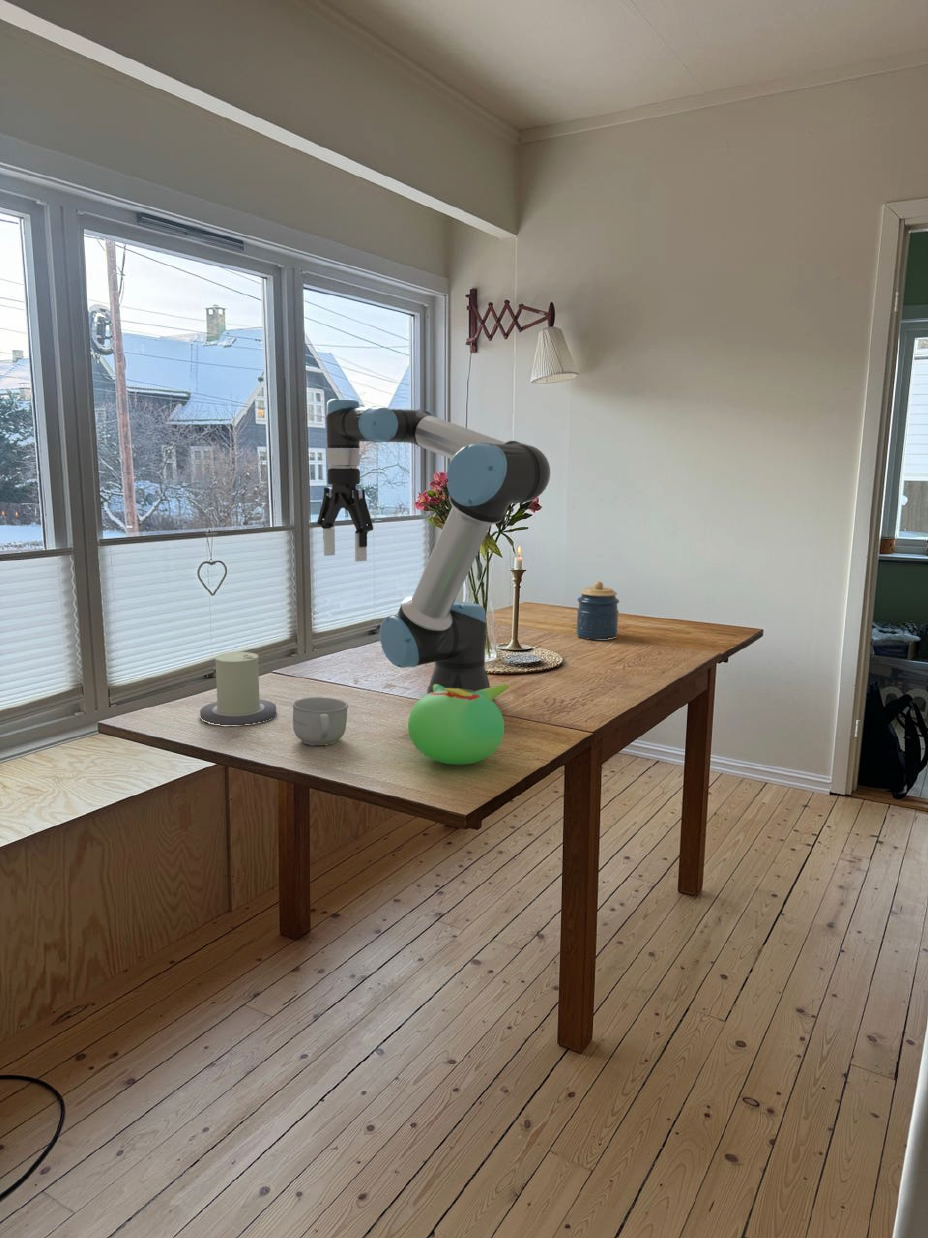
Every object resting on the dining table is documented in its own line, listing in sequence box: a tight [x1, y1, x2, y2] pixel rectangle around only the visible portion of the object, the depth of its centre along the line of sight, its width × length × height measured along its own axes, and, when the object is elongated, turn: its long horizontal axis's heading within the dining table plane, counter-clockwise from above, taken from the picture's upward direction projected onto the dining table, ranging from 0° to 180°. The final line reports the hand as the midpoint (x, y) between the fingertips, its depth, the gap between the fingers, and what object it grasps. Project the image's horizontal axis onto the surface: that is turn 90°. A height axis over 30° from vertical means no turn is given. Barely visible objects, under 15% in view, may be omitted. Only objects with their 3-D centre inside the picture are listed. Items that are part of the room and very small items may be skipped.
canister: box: [575, 580, 620, 639], centre depth 275 cm, size 13×13×18 cm
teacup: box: [292, 696, 349, 746], centre depth 172 cm, size 14×11×8 cm
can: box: [214, 651, 261, 714], centre depth 189 cm, size 9×9×12 cm
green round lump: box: [407, 684, 510, 766], centre depth 163 cm, size 18×17×15 cm
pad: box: [199, 699, 277, 725], centre depth 190 cm, size 16×16×2 cm
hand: (344, 558), depth 208 cm, fingers open, 13 cm apart
